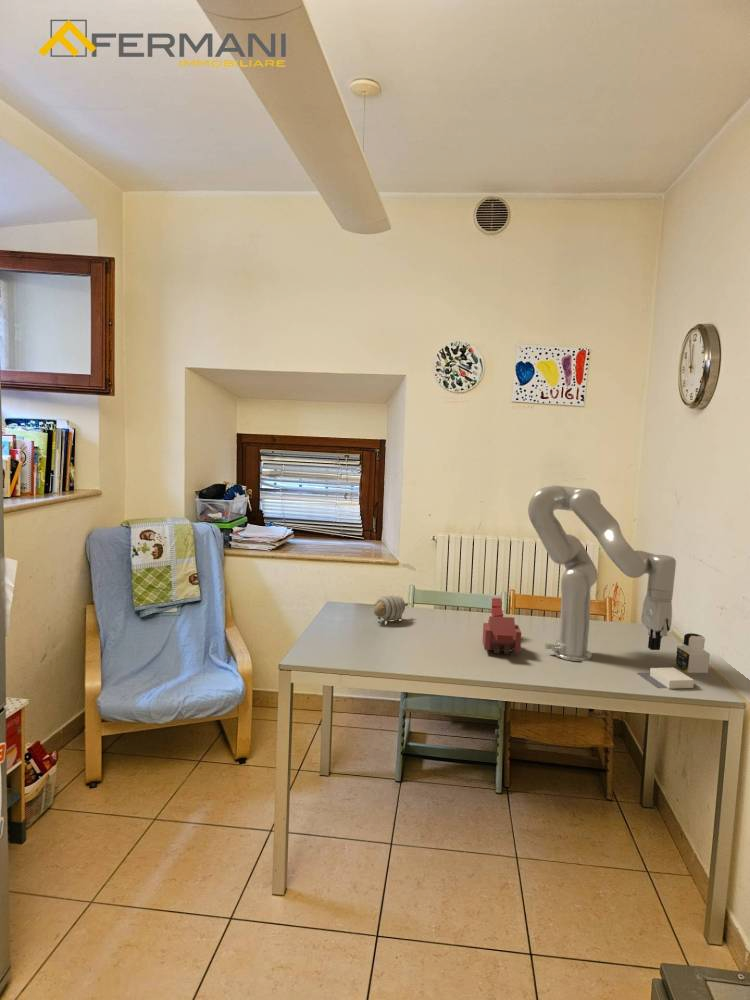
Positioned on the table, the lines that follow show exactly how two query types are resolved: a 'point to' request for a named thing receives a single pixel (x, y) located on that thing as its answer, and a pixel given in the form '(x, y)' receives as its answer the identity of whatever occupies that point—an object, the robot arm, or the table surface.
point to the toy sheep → (390, 607)
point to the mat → (655, 682)
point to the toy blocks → (501, 631)
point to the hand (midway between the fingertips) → (653, 648)
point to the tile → (671, 678)
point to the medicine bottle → (693, 654)
